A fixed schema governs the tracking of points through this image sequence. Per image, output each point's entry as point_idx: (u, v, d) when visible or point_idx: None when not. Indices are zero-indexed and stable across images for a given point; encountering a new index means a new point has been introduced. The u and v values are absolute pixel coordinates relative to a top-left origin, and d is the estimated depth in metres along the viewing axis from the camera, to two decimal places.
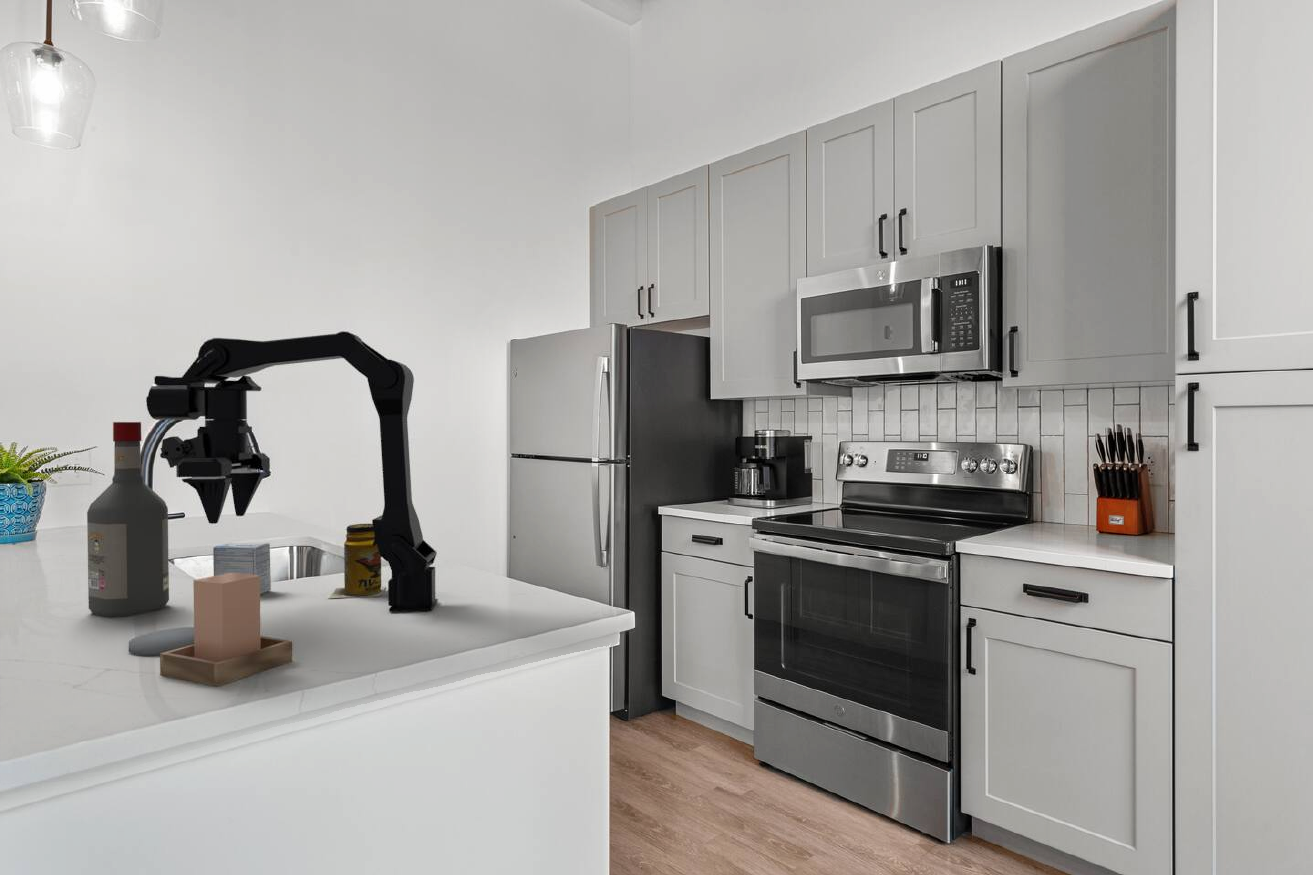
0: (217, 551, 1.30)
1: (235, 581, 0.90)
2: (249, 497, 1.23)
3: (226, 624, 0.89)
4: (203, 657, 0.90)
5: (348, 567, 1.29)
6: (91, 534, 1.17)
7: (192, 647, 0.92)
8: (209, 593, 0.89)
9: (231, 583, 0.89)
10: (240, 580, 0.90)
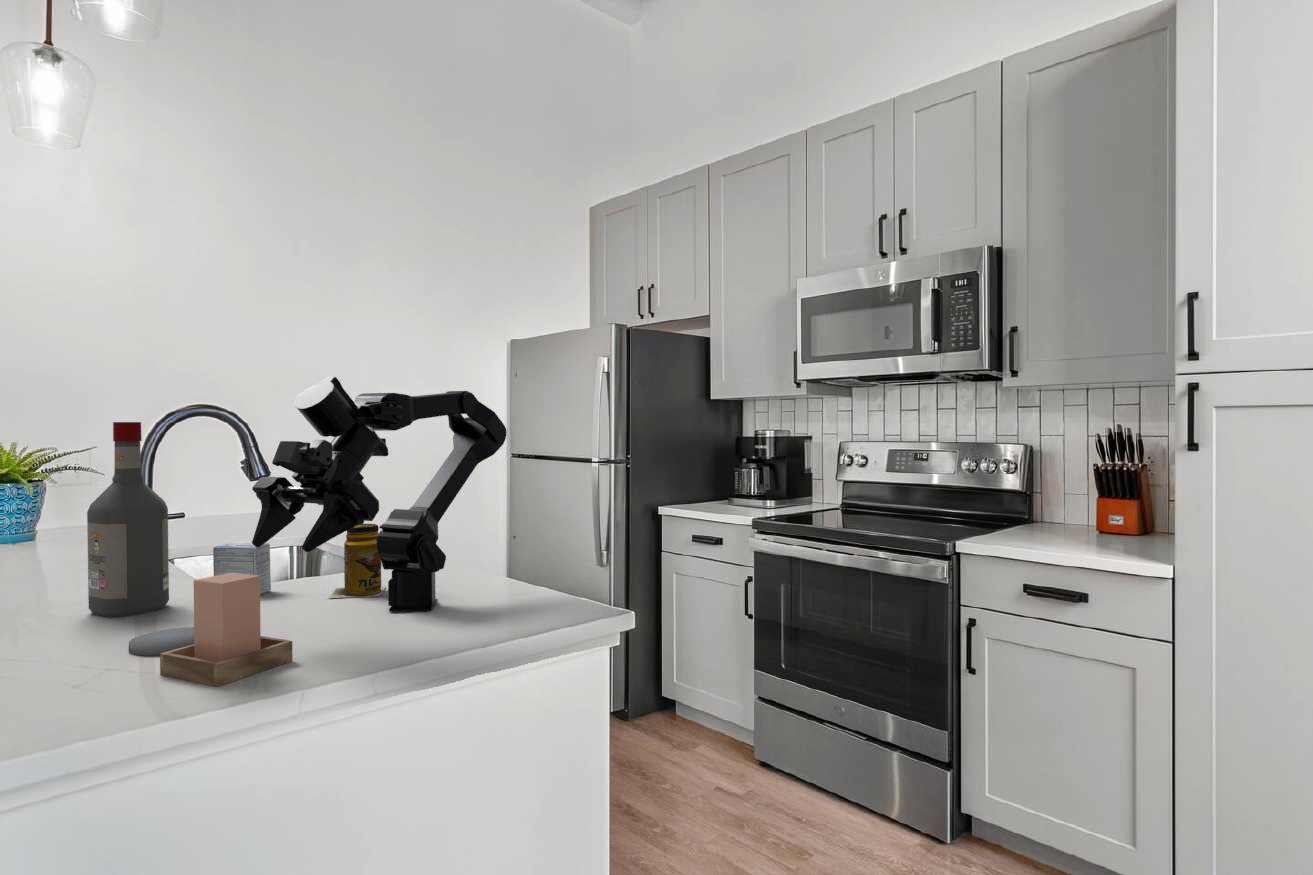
0: (217, 551, 1.30)
1: (235, 581, 0.90)
2: (275, 534, 1.03)
3: (226, 624, 0.89)
4: (203, 657, 0.90)
5: (348, 567, 1.29)
6: (91, 534, 1.17)
7: (192, 647, 0.92)
8: (209, 593, 0.89)
9: (231, 583, 0.89)
10: (240, 580, 0.90)
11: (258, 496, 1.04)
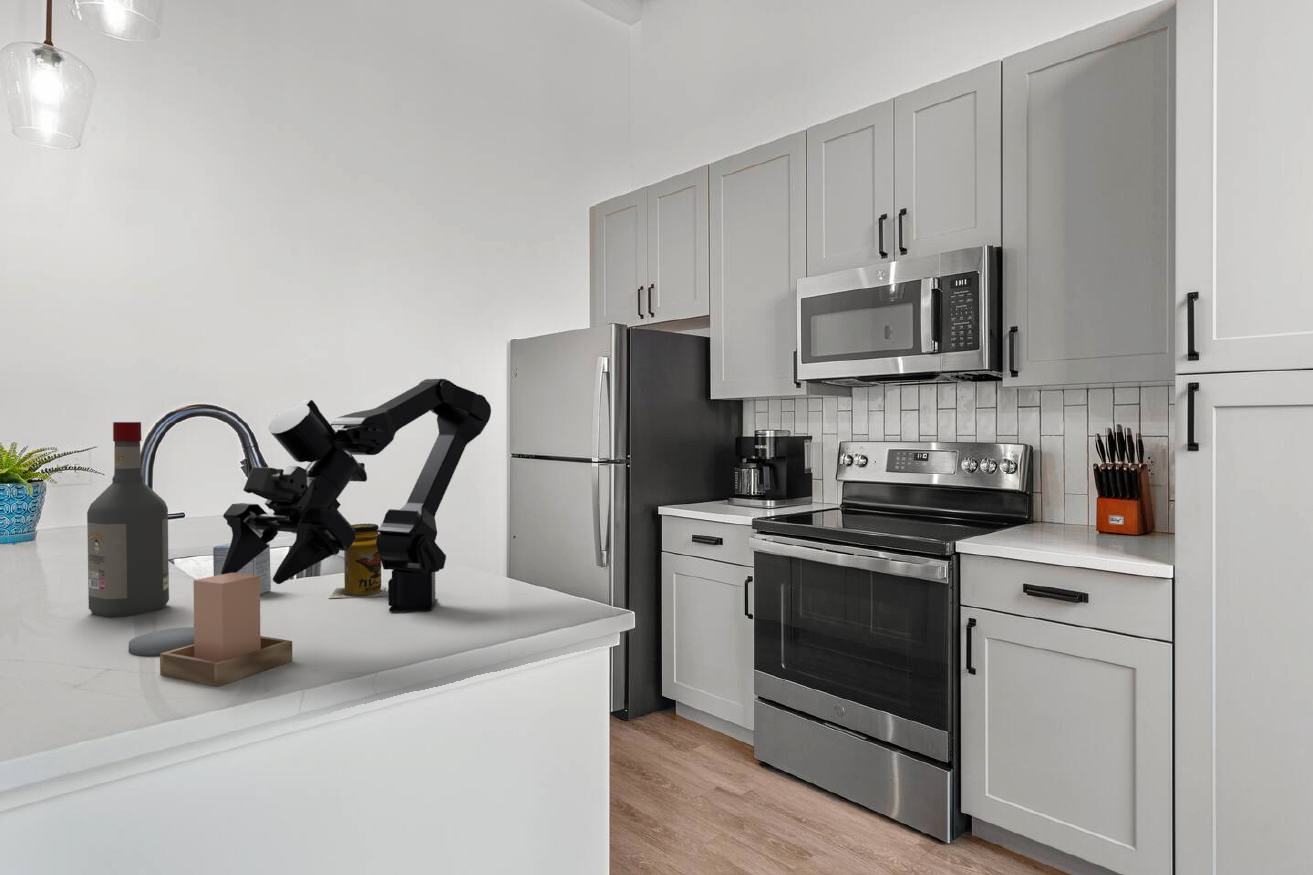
0: (217, 551, 1.30)
1: (235, 581, 0.90)
2: (246, 563, 0.99)
3: (226, 624, 0.89)
4: (203, 657, 0.90)
5: (348, 567, 1.29)
6: (91, 534, 1.17)
7: (192, 647, 0.92)
8: (209, 593, 0.89)
9: (231, 583, 0.89)
10: (240, 580, 0.90)
11: (229, 524, 1.00)
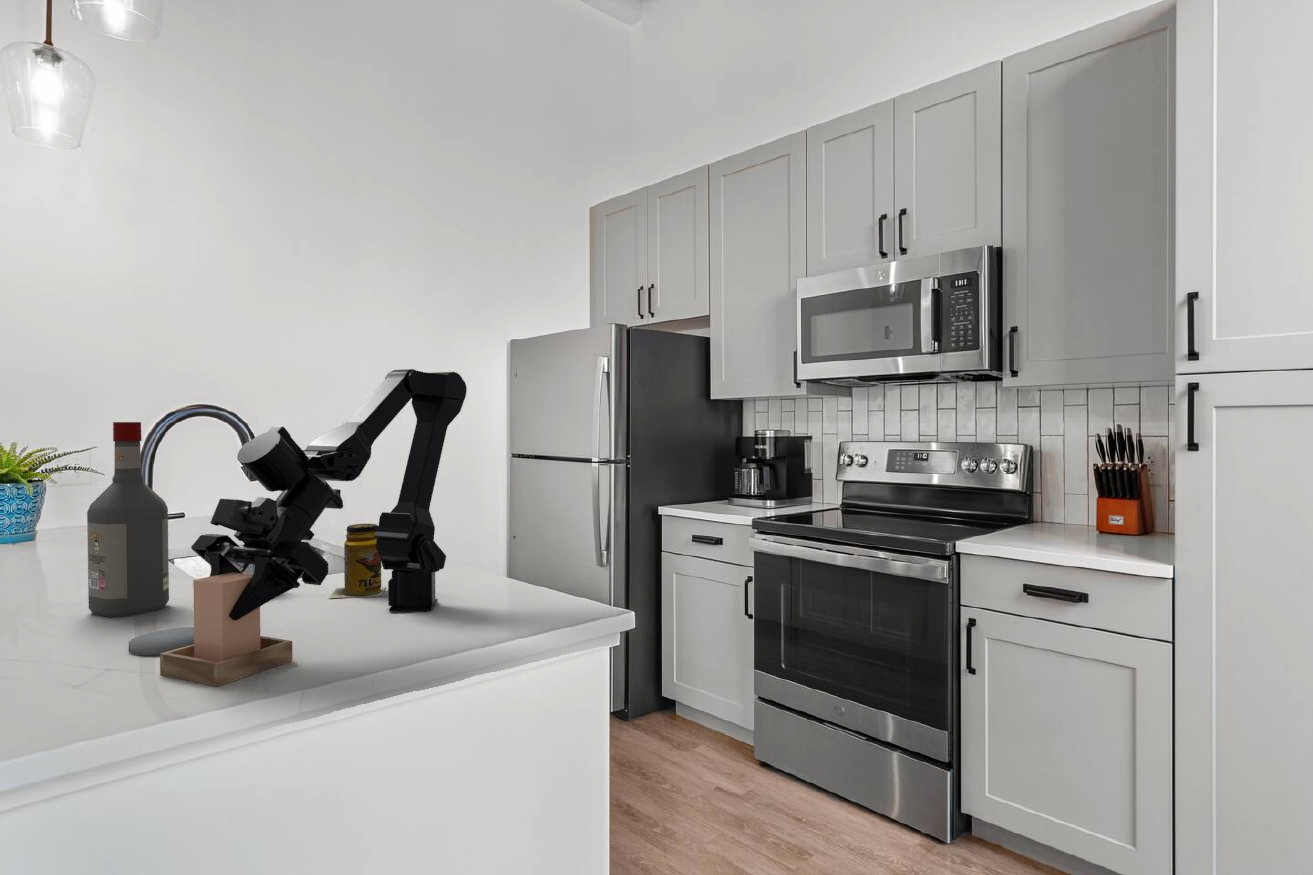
0: None
1: (235, 581, 0.90)
2: None
3: (226, 624, 0.89)
4: (202, 657, 0.90)
5: (348, 567, 1.29)
6: (91, 534, 1.17)
7: (192, 647, 0.92)
8: (209, 593, 0.89)
9: (231, 583, 0.89)
10: (240, 580, 0.90)
11: (207, 558, 0.95)
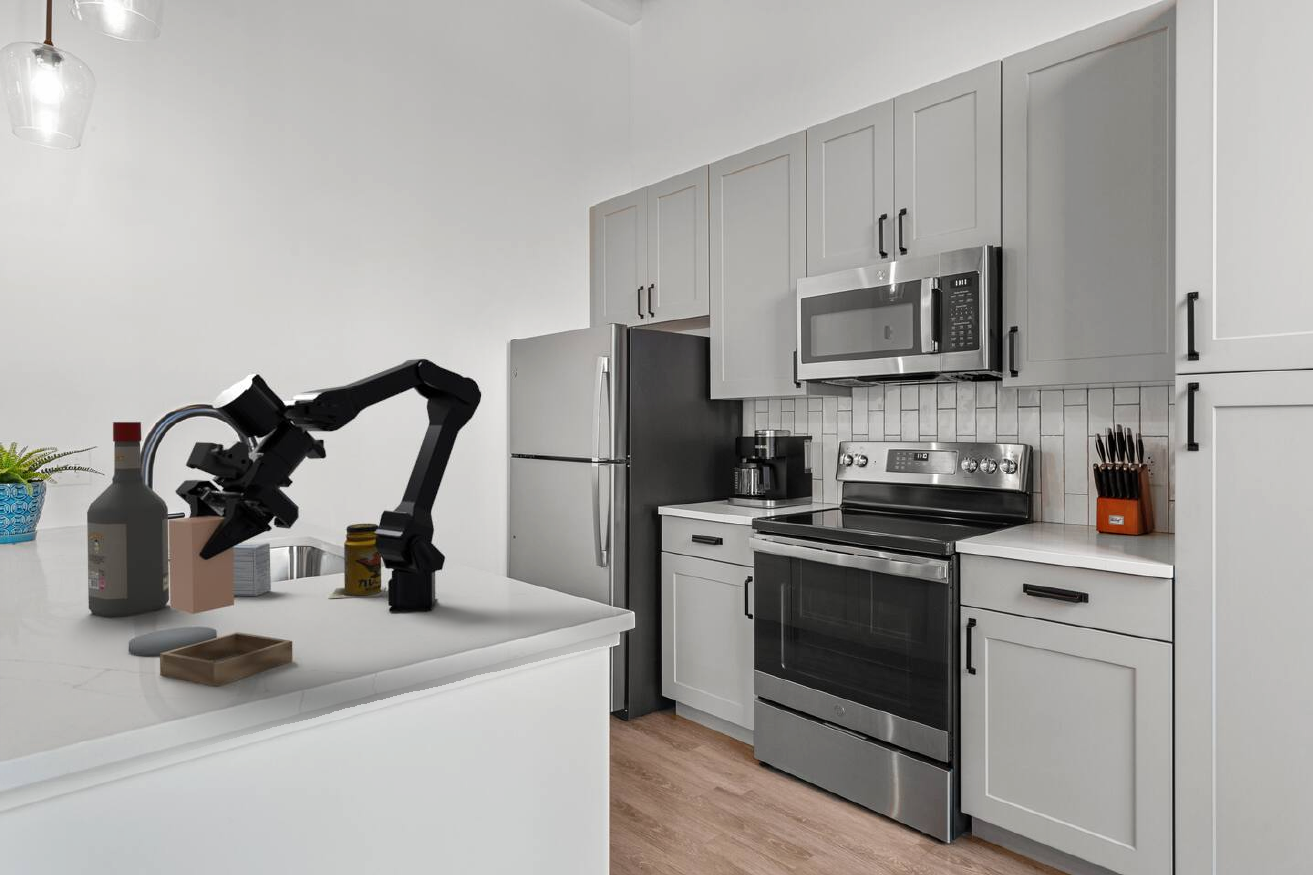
0: None
1: (206, 521, 0.92)
2: None
3: (196, 563, 0.91)
4: (176, 595, 0.92)
5: (348, 567, 1.29)
6: (91, 534, 1.17)
7: (192, 647, 0.92)
8: (181, 532, 0.91)
9: (201, 523, 0.91)
10: (211, 521, 0.92)
11: (188, 501, 0.98)
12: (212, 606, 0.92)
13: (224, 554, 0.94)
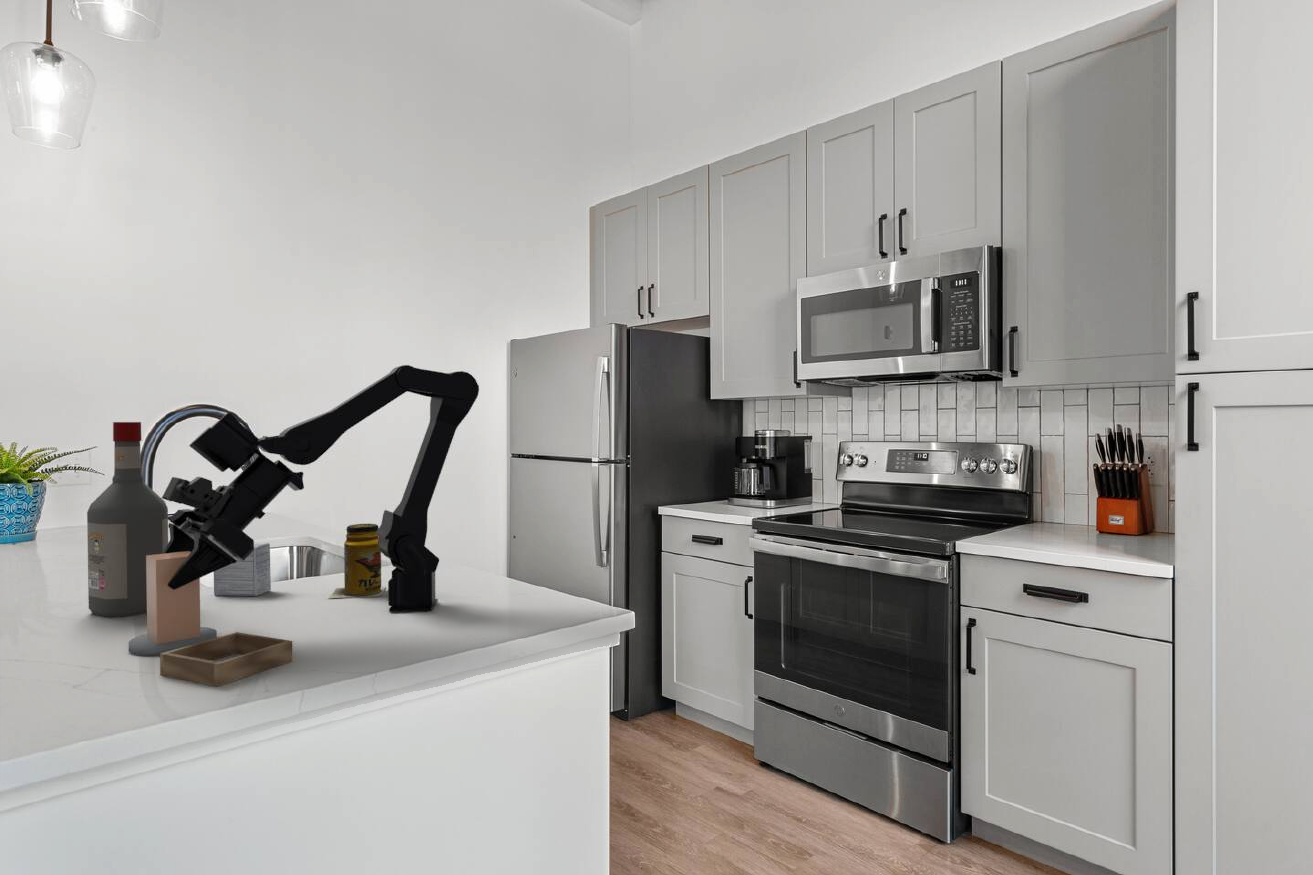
0: None
1: (171, 558, 0.99)
2: None
3: (160, 597, 0.98)
4: (150, 625, 1.00)
5: (348, 567, 1.29)
6: (91, 534, 1.17)
7: (192, 647, 0.92)
8: (151, 568, 0.99)
9: (166, 560, 0.98)
10: (177, 558, 0.99)
11: None
12: (177, 637, 0.99)
13: (190, 589, 1.00)
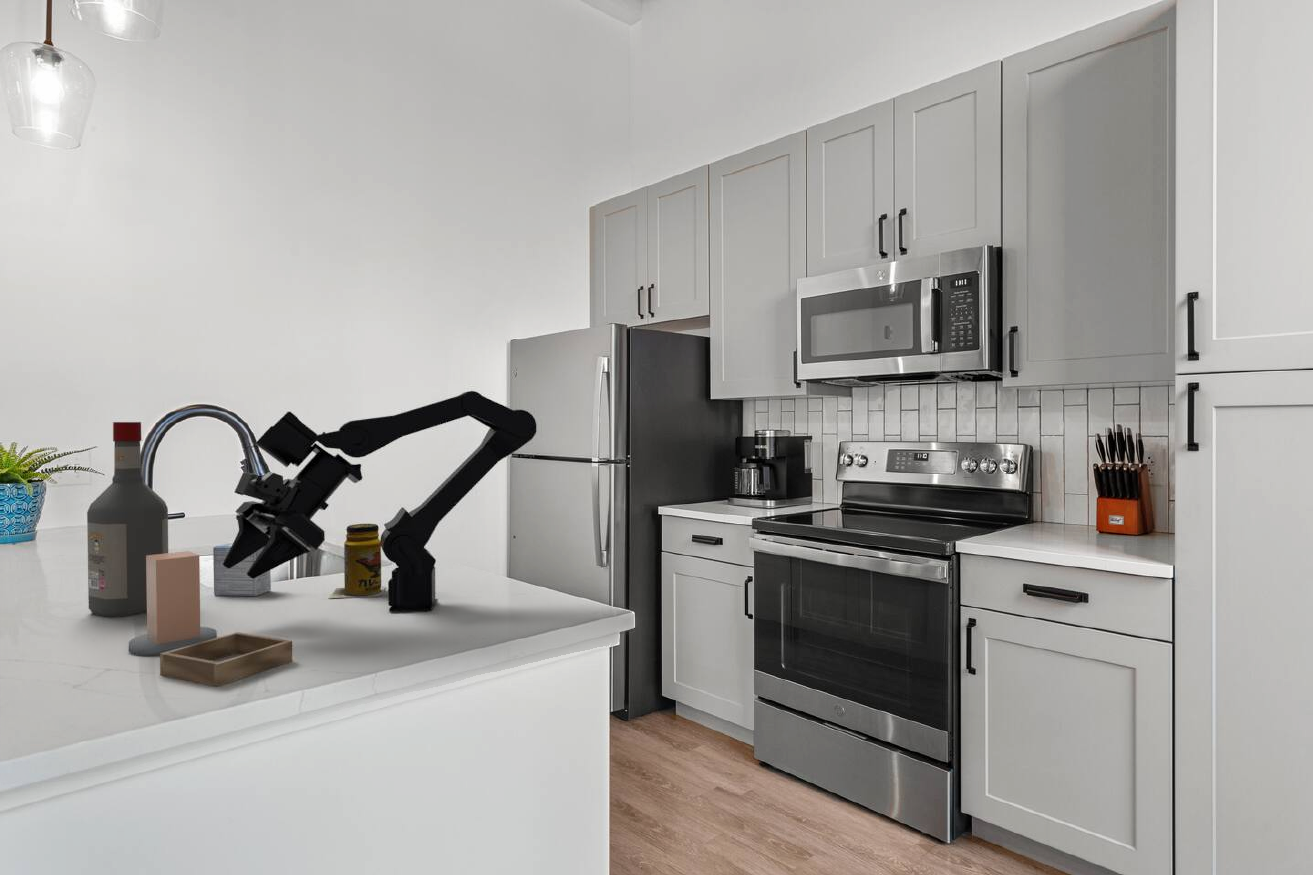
0: (217, 551, 1.30)
1: (171, 559, 0.99)
2: (248, 555, 1.12)
3: (160, 597, 0.98)
4: (149, 625, 1.00)
5: (348, 567, 1.29)
6: (91, 534, 1.17)
7: (192, 647, 0.92)
8: (151, 568, 0.99)
9: (166, 560, 0.98)
10: (177, 558, 0.99)
11: None
12: (177, 637, 0.99)
13: (190, 589, 1.00)
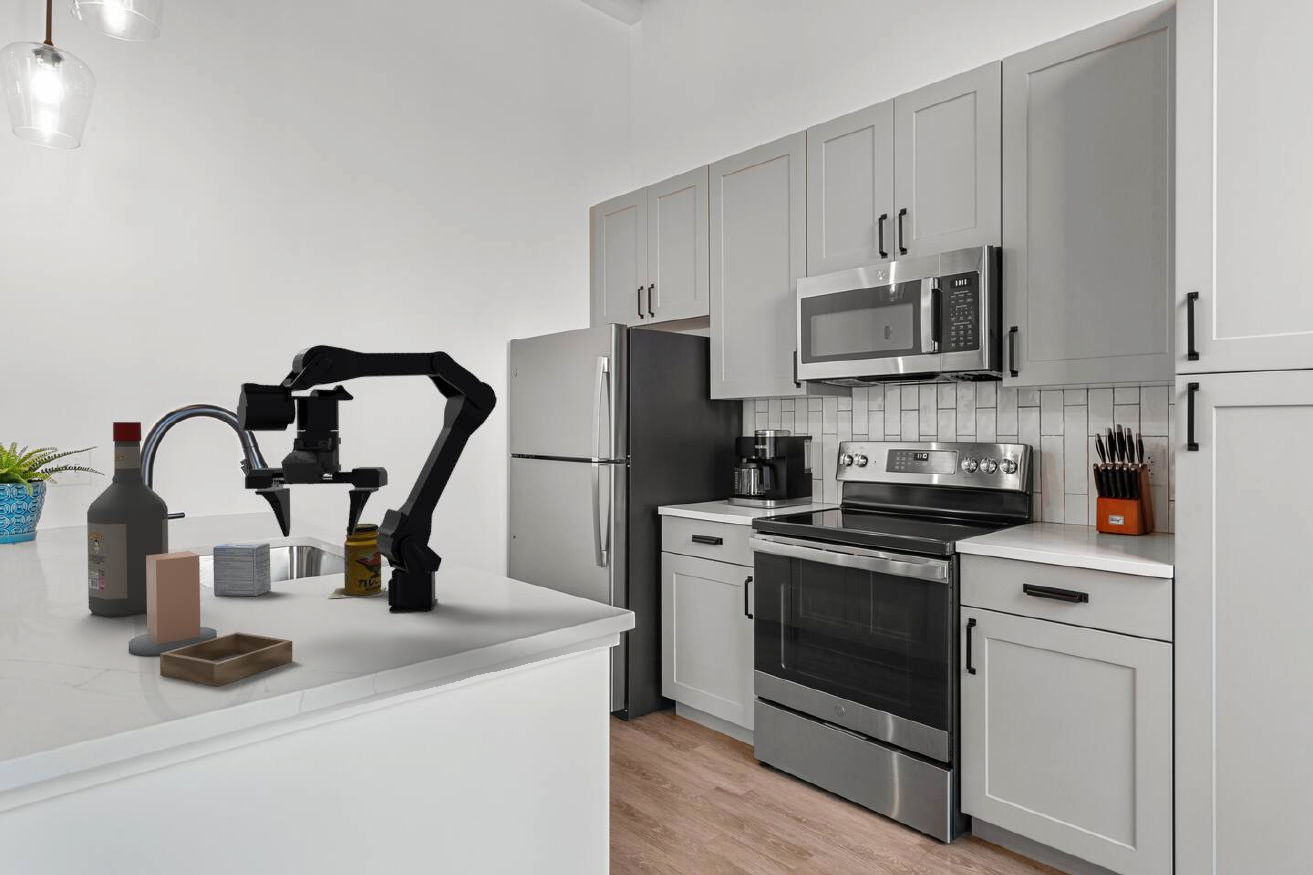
0: (217, 551, 1.30)
1: (171, 559, 0.99)
2: (289, 515, 1.13)
3: (160, 597, 0.98)
4: (149, 625, 1.00)
5: (348, 567, 1.29)
6: (91, 534, 1.17)
7: (192, 647, 0.92)
8: (151, 568, 0.99)
9: (166, 560, 0.98)
10: (177, 558, 0.99)
11: (258, 494, 1.09)
12: (177, 637, 0.99)
13: (190, 589, 1.00)
